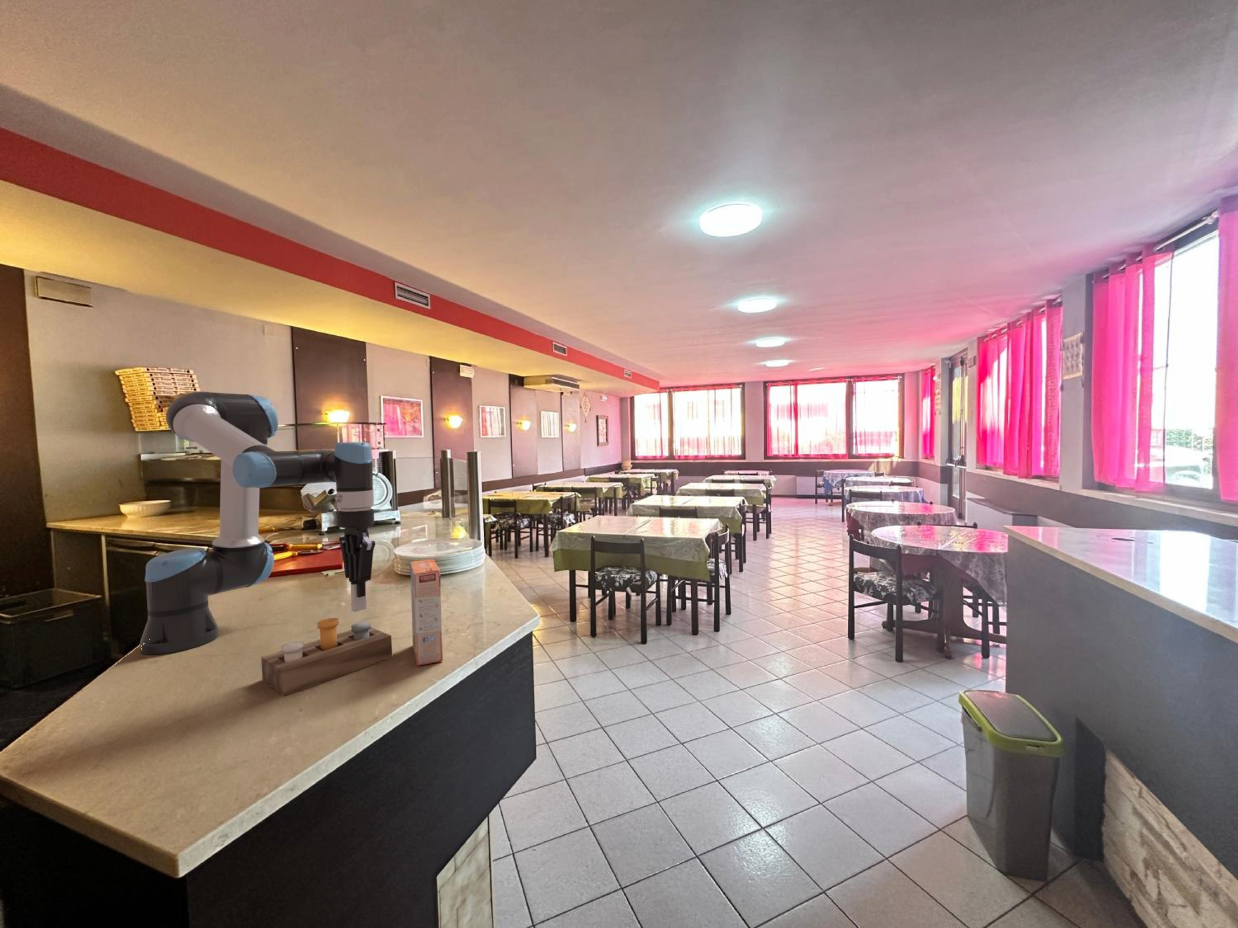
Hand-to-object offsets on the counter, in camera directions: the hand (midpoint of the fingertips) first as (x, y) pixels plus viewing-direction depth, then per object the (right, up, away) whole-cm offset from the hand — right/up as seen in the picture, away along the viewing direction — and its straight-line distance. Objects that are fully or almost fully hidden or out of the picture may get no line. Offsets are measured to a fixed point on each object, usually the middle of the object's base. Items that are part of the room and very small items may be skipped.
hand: (359, 609), depth 116 cm
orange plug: (-4, -8, -5) cm, 10 cm away
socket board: (-4, -11, -5) cm, 13 cm away
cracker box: (+16, -11, +1) cm, 19 cm away
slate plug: (+1, -10, 0) cm, 10 cm away
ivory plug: (-8, -11, -11) cm, 17 cm away
